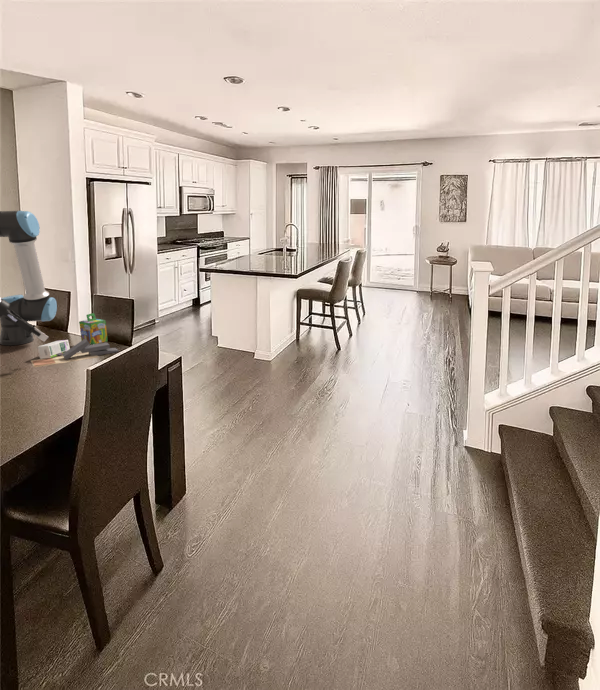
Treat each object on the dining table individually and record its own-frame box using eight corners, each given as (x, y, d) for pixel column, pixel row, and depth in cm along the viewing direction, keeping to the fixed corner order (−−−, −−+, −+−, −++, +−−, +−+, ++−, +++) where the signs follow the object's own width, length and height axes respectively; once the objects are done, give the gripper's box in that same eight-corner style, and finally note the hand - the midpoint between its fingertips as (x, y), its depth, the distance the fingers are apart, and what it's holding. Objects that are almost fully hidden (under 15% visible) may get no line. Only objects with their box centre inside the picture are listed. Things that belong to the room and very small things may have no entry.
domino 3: (88, 349, 240) (115, 347, 246) (88, 353, 240) (115, 351, 247) (90, 351, 236) (118, 350, 242) (90, 355, 236) (118, 354, 242)
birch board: (30, 362, 231) (30, 360, 231) (92, 353, 244) (92, 350, 244) (34, 369, 221) (34, 367, 221) (98, 359, 235) (98, 356, 234)
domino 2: (79, 346, 237) (106, 342, 243) (80, 350, 238) (107, 346, 244) (81, 349, 233) (109, 344, 239) (82, 353, 234) (109, 348, 240)
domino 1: (62, 354, 234) (85, 338, 237) (64, 357, 235) (87, 341, 238) (63, 357, 230) (87, 340, 233) (66, 360, 230) (90, 343, 234)
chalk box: (93, 346, 256) (89, 316, 252) (81, 344, 260) (77, 314, 256) (108, 342, 263) (105, 313, 259) (96, 340, 268) (93, 311, 264)
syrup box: (47, 345, 231) (69, 339, 244) (36, 346, 232) (58, 340, 246) (50, 358, 232) (71, 351, 245) (39, 359, 233) (60, 352, 247)
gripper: (-12, 310, 218) (38, 342, 231) (-10, 315, 207) (42, 349, 221) (0, 296, 219) (49, 329, 232) (3, 300, 209) (54, 335, 222)
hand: (46, 339), depth 226 cm, fingers closed
